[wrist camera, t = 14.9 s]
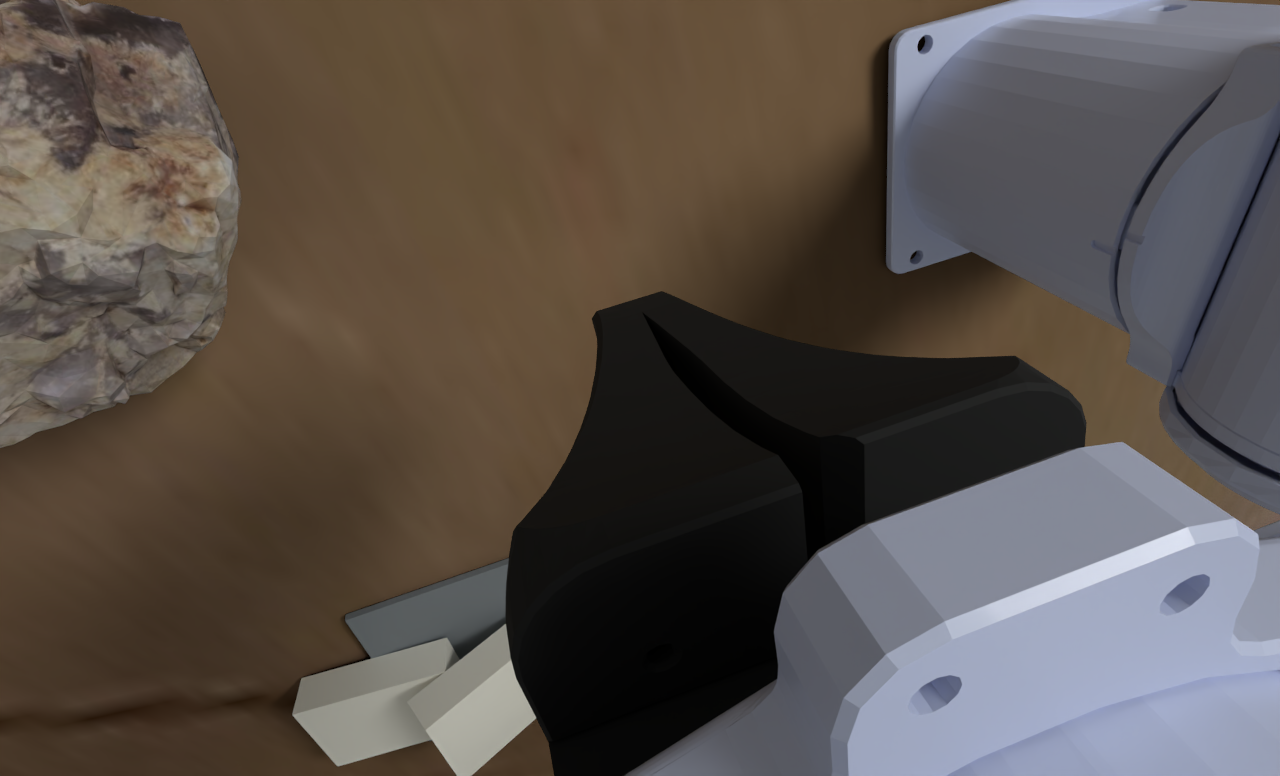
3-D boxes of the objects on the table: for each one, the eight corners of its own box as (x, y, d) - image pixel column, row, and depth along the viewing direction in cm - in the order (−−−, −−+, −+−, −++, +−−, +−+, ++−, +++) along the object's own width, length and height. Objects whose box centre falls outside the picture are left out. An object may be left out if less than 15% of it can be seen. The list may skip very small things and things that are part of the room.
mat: (943, 408, 30) (947, 411, 30) (932, 548, 35) (936, 552, 35) (345, 614, 27) (344, 620, 26) (429, 735, 32) (429, 741, 32)
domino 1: (444, 671, 27) (291, 714, 26) (478, 726, 29) (337, 766, 29) (446, 637, 28) (301, 678, 28) (478, 692, 30) (344, 730, 30)
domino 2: (556, 621, 28) (425, 730, 25) (580, 678, 30) (462, 783, 27) (535, 600, 29) (406, 702, 26) (559, 656, 31) (443, 755, 28)
